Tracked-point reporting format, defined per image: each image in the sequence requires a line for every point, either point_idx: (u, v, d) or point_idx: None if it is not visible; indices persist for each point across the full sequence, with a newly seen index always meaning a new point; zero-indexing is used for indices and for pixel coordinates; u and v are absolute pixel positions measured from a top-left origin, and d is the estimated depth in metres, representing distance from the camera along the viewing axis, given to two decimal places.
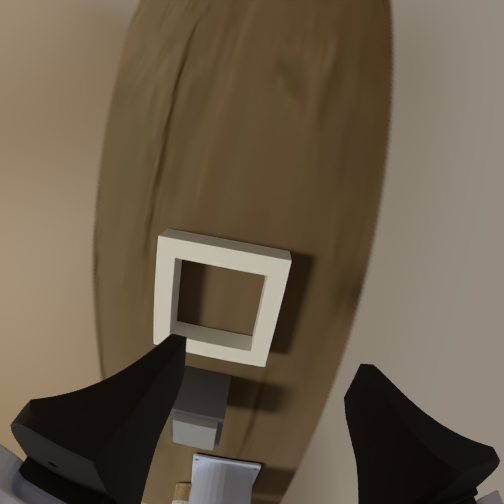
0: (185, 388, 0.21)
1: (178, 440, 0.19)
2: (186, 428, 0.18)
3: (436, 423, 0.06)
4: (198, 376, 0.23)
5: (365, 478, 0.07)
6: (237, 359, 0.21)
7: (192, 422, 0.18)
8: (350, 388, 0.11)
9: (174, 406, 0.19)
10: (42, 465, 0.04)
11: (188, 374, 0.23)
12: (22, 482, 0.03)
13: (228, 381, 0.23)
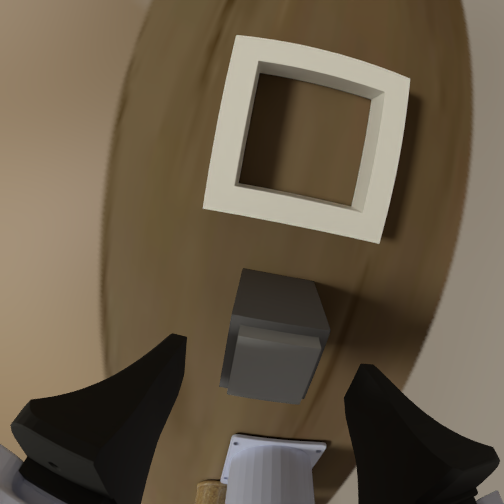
0: (251, 291, 0.14)
1: (238, 389, 0.11)
2: (261, 355, 0.11)
3: (436, 423, 0.06)
4: (266, 279, 0.15)
5: (365, 478, 0.07)
6: (341, 229, 0.13)
7: (275, 339, 0.11)
8: (350, 388, 0.11)
9: (239, 312, 0.11)
10: (42, 465, 0.04)
11: (250, 276, 0.15)
12: (22, 482, 0.03)
13: (313, 287, 0.15)
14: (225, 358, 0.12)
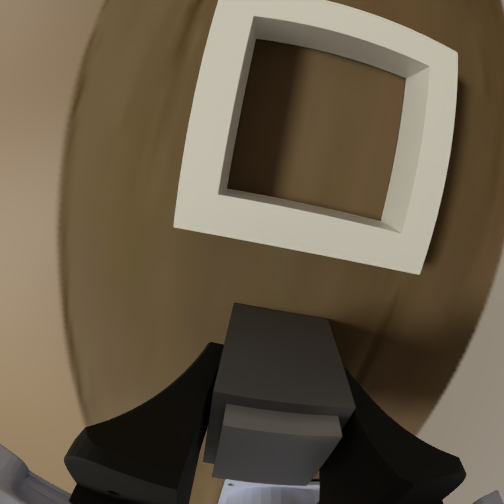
0: (243, 344, 0.09)
1: (227, 473, 0.07)
2: (257, 445, 0.07)
3: (398, 427, 0.06)
4: (265, 321, 0.11)
5: (325, 480, 0.07)
6: (372, 257, 0.09)
7: (278, 427, 0.07)
8: None
9: (224, 387, 0.07)
10: (96, 492, 0.04)
11: (243, 317, 0.11)
12: (22, 482, 0.03)
13: (327, 329, 0.11)
14: (208, 437, 0.08)
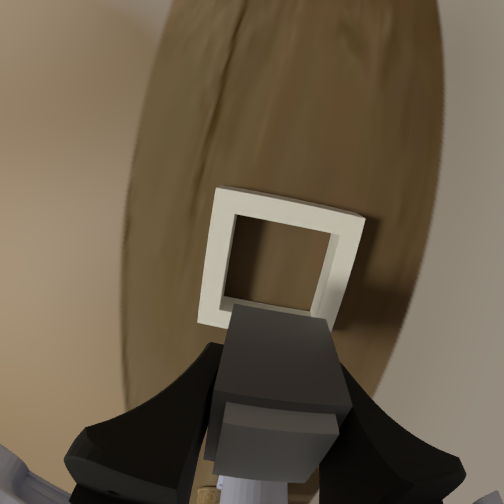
0: (243, 344, 0.10)
1: (227, 470, 0.07)
2: (256, 442, 0.07)
3: (398, 427, 0.06)
4: (264, 321, 0.11)
5: (325, 480, 0.07)
6: None
7: (276, 425, 0.07)
8: None
9: (224, 386, 0.07)
10: (96, 492, 0.04)
11: (243, 318, 0.11)
12: (22, 482, 0.03)
13: (325, 329, 0.11)
14: (208, 434, 0.08)
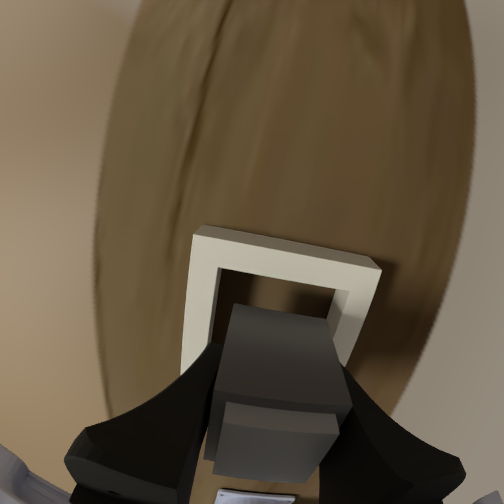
0: (243, 344, 0.10)
1: (227, 470, 0.07)
2: (257, 442, 0.07)
3: (398, 427, 0.06)
4: (264, 321, 0.11)
5: (325, 480, 0.07)
6: None
7: (276, 425, 0.07)
8: None
9: (224, 386, 0.07)
10: (96, 492, 0.04)
11: (243, 318, 0.11)
12: (22, 482, 0.03)
13: (325, 329, 0.11)
14: (208, 434, 0.08)
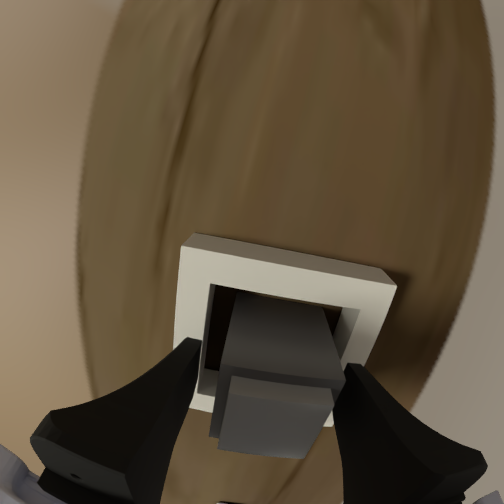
0: (246, 326, 0.11)
1: (231, 444, 0.09)
2: (259, 413, 0.08)
3: (422, 425, 0.06)
4: (265, 307, 0.12)
5: (350, 479, 0.07)
6: None
7: (277, 396, 0.08)
8: None
9: (230, 361, 0.09)
10: (62, 476, 0.04)
11: (245, 304, 0.12)
12: (22, 482, 0.03)
13: (322, 315, 0.12)
14: (214, 410, 0.09)
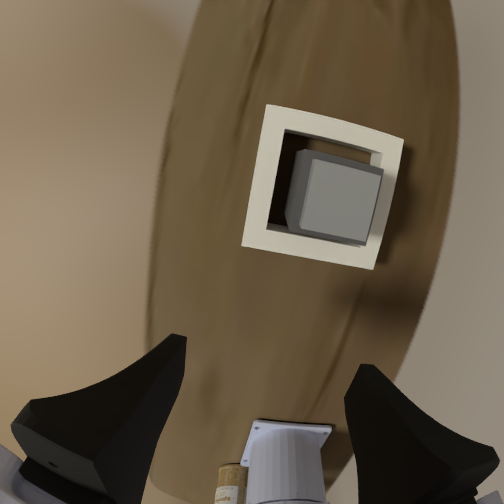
0: None
1: (312, 220, 0.13)
2: (334, 179, 0.12)
3: (436, 423, 0.06)
4: None
5: (365, 478, 0.07)
6: (345, 260, 0.18)
7: (344, 166, 0.12)
8: (350, 388, 0.11)
9: None
10: (42, 465, 0.04)
11: None
12: (22, 482, 0.03)
13: None
14: (298, 195, 0.14)
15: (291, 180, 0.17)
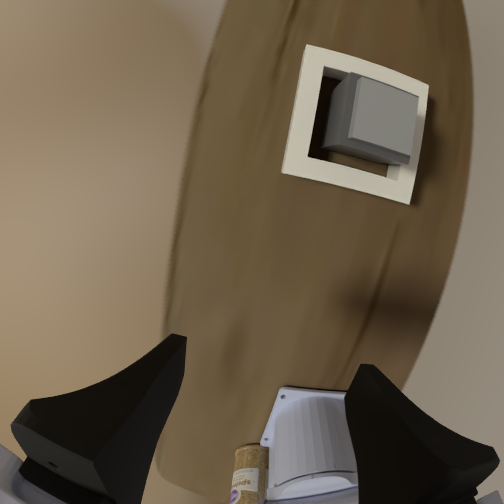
0: None
1: (362, 130, 0.12)
2: (379, 96, 0.12)
3: (436, 423, 0.06)
4: None
5: (365, 478, 0.07)
6: (383, 192, 0.17)
7: (387, 86, 0.12)
8: (350, 388, 0.11)
9: (354, 74, 0.12)
10: (42, 465, 0.04)
11: None
12: (22, 482, 0.03)
13: None
14: (346, 110, 0.13)
15: (329, 115, 0.17)
